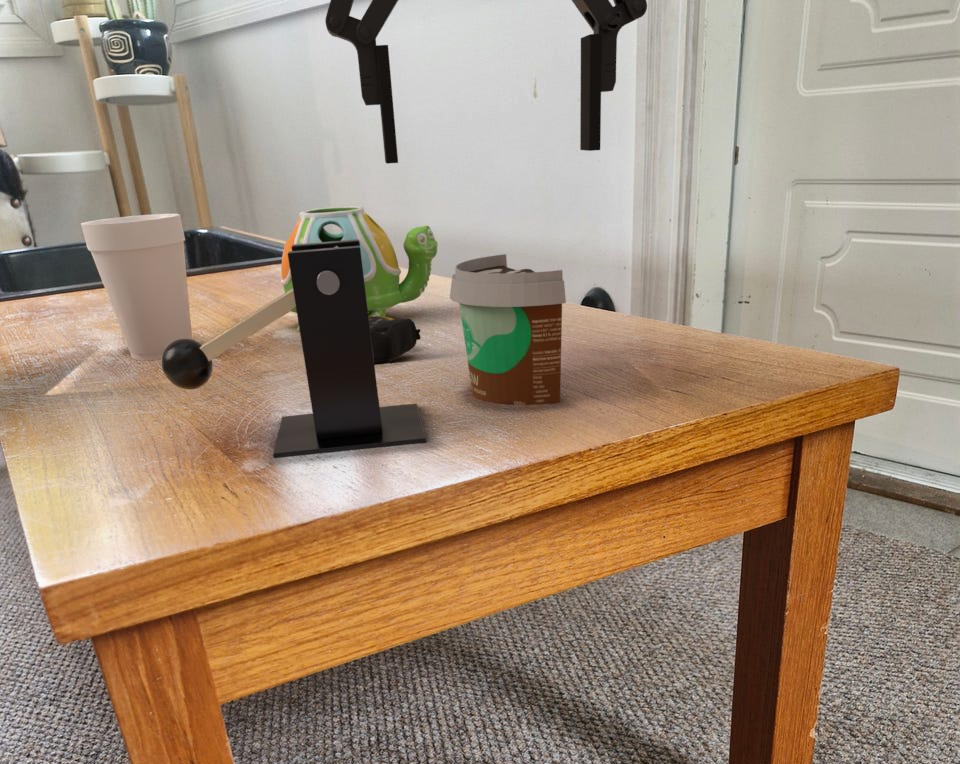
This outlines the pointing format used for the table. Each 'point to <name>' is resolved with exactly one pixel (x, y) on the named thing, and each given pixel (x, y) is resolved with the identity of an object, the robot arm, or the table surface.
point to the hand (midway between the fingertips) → (491, 157)
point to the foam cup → (143, 278)
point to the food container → (511, 330)
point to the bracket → (339, 360)
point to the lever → (217, 345)
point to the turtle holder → (369, 254)
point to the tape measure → (391, 337)
